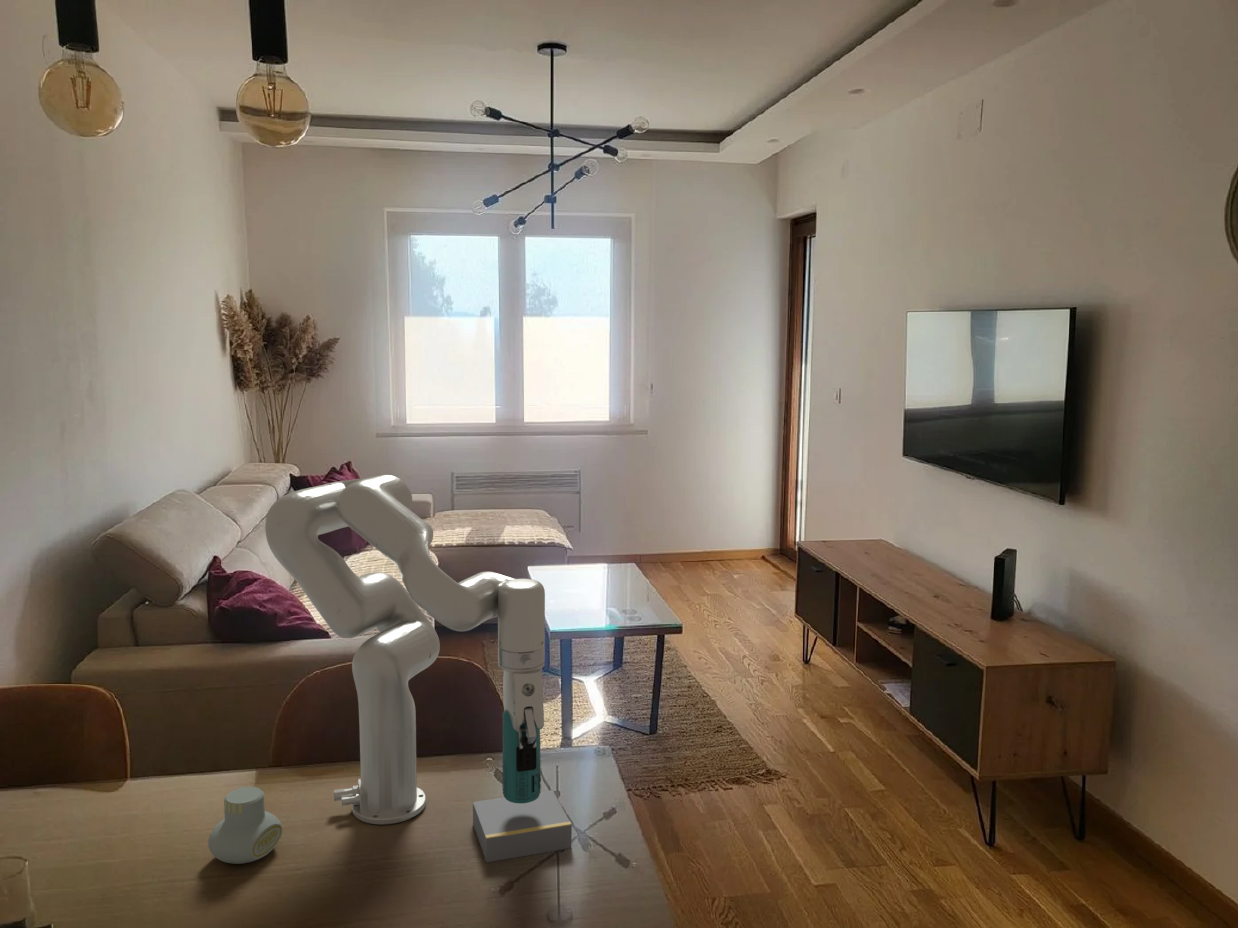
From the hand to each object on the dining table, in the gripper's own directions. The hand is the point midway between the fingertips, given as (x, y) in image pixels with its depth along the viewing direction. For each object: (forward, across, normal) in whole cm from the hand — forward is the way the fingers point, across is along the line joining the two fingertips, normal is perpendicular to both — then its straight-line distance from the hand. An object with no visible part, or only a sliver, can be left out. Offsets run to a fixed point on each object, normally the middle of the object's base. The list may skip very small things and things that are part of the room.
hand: (521, 758), depth 151 cm
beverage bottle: (+8, 0, 0) cm, 8 cm away
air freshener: (+14, +8, +43) cm, 46 cm away
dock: (+14, 0, 0) cm, 14 cm away
